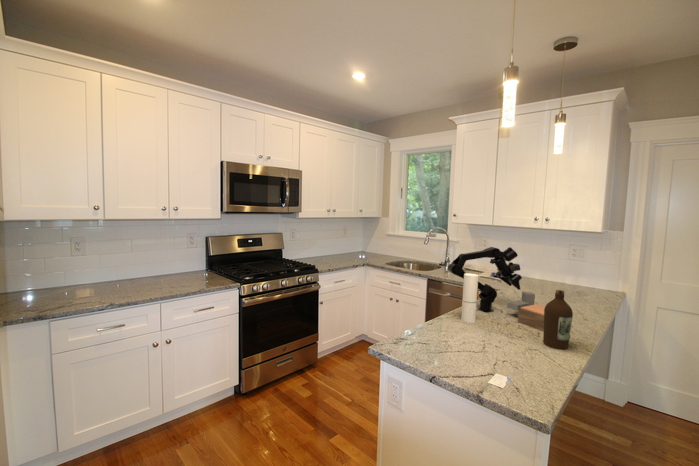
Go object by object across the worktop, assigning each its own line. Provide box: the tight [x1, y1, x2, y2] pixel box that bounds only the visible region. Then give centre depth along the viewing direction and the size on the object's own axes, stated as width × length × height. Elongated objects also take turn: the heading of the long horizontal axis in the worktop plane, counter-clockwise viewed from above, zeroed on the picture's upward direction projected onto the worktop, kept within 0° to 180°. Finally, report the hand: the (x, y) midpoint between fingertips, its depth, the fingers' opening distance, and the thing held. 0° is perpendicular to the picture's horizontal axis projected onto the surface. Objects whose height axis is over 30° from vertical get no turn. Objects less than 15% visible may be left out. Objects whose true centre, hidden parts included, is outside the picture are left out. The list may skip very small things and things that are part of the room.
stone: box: [520, 291, 536, 306], centre depth 187 cm, size 5×5×7 cm
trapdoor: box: [507, 299, 545, 315], centre depth 173 cm, size 14×23×3 cm, turn 29°
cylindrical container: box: [460, 272, 479, 324], centre depth 170 cm, size 7×7×25 cm
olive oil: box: [542, 289, 574, 351], centre depth 142 cm, size 11×11×25 cm
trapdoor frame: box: [517, 308, 544, 332], centre depth 169 cm, size 18×14×8 cm
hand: (515, 287), depth 189 cm, fingers open, 9 cm apart
